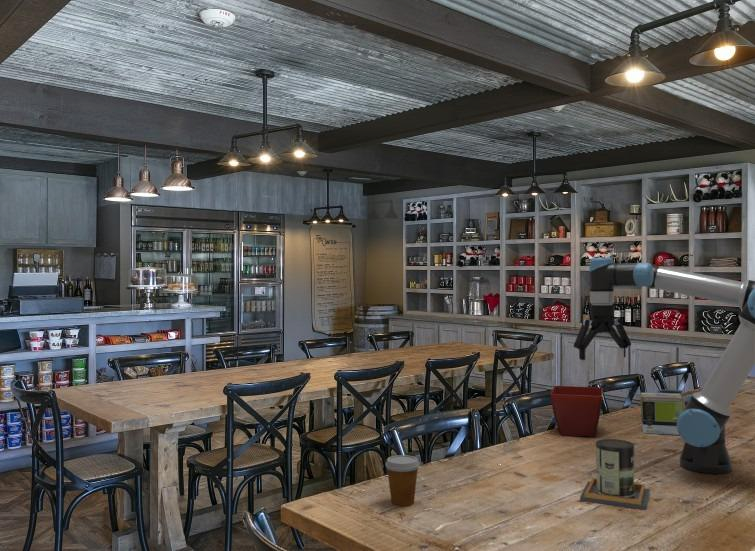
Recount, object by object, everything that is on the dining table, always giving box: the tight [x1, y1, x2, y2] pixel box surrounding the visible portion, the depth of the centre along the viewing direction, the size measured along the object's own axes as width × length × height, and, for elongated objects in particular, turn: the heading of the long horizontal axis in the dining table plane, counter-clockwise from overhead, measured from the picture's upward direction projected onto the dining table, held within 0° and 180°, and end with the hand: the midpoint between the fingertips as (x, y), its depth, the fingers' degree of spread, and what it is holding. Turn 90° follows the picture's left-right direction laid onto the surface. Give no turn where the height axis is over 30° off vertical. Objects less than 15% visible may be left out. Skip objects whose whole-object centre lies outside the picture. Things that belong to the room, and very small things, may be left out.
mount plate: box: [579, 477, 651, 510], centre depth 185 cm, size 17×15×2 cm
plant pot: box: [549, 385, 604, 438], centre depth 259 cm, size 19×19×17 cm
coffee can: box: [595, 438, 635, 498], centre depth 185 cm, size 10×10×14 cm
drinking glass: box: [656, 389, 684, 399], centre depth 280 cm, size 10×10×12 cm
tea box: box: [640, 392, 685, 436], centre depth 259 cm, size 15×10×15 cm
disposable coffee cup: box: [385, 454, 420, 507], centre depth 183 cm, size 10×10×12 cm
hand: (602, 368), depth 216 cm, fingers open, 13 cm apart
